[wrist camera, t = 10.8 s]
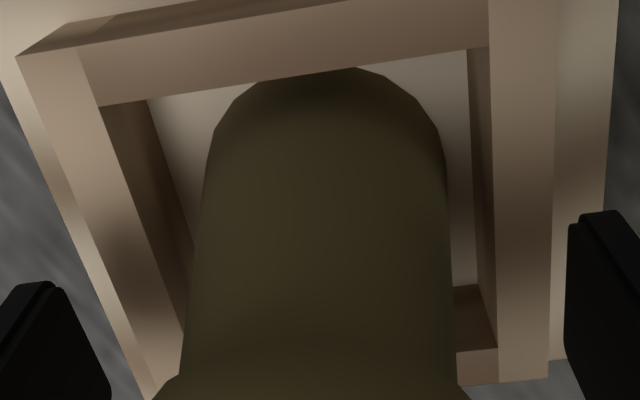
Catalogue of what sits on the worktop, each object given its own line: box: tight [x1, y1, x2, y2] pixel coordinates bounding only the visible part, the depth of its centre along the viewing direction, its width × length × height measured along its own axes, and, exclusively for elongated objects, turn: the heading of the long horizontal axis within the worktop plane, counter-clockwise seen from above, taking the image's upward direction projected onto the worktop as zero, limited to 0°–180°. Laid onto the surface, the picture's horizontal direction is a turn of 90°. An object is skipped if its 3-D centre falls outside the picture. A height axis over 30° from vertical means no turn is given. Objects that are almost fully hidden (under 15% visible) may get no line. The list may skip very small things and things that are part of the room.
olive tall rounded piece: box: [152, 67, 471, 400], centre depth 10 cm, size 6×6×11 cm
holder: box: [0, 0, 619, 400], centre depth 15 cm, size 14×14×4 cm
